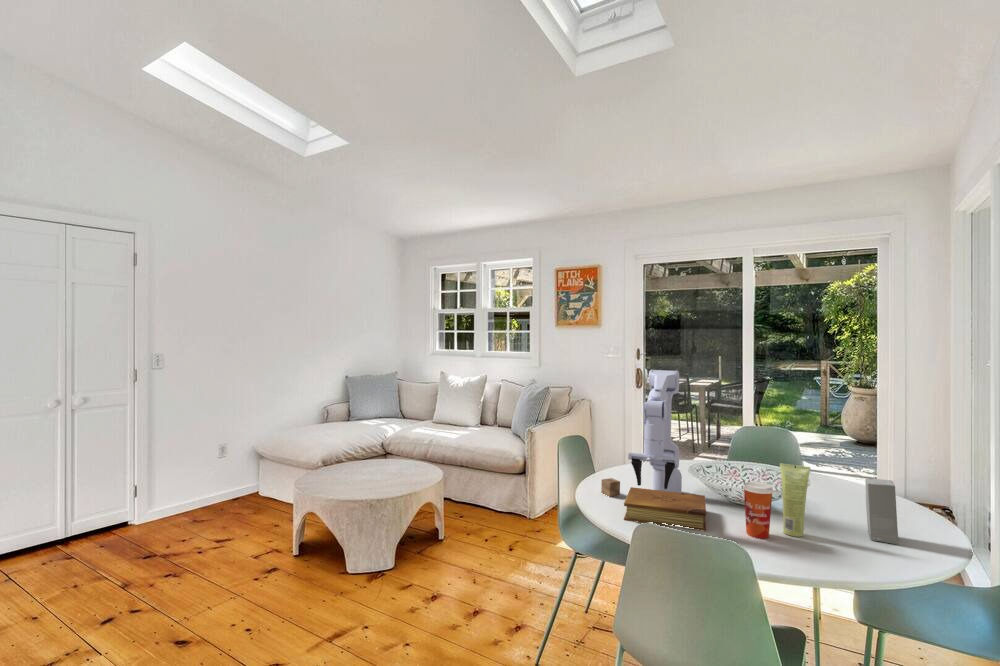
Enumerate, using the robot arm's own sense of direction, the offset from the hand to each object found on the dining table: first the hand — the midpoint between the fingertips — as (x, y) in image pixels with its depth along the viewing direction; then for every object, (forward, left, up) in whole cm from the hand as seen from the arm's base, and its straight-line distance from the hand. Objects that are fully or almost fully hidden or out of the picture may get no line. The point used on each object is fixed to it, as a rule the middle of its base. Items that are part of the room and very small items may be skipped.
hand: (652, 486), depth 153 cm
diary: (-8, -3, -11) cm, 14 cm away
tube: (-30, +24, -11) cm, 40 cm away
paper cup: (-20, +20, -11) cm, 30 cm away
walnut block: (-6, -27, -11) cm, 30 cm away
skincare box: (-50, +36, -11) cm, 63 cm away
